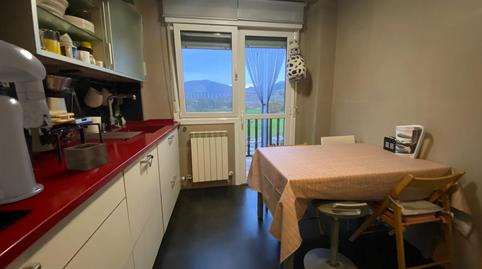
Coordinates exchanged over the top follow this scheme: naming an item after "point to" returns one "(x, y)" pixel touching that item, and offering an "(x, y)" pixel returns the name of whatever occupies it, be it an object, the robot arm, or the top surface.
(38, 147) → the cork
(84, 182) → the top surface
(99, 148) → the walnut box
